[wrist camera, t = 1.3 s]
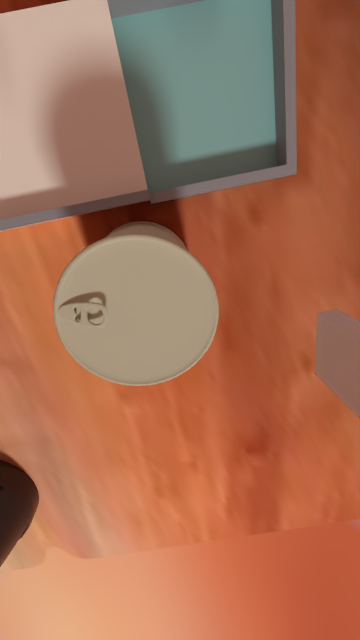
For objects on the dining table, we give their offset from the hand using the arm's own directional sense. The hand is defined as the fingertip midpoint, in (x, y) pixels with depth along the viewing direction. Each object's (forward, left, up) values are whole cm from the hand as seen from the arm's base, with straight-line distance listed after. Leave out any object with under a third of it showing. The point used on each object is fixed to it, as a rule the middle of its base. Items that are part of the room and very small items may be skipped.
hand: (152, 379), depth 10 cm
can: (-1, 0, -17) cm, 17 cm away
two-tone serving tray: (0, +12, -17) cm, 21 cm away
